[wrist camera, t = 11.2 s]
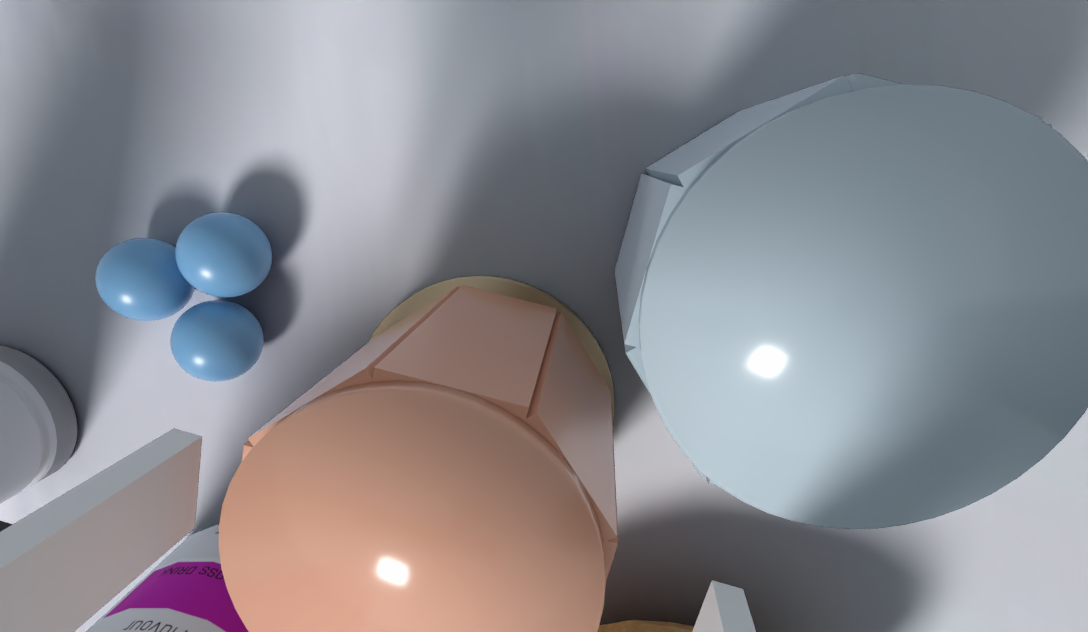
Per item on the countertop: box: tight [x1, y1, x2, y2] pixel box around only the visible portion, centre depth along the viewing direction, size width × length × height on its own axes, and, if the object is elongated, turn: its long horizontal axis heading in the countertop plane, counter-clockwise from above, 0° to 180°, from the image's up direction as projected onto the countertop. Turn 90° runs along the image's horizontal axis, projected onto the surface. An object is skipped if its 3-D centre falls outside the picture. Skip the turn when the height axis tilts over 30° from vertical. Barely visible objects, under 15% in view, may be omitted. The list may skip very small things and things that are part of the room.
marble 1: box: [95, 238, 195, 321], centre depth 21 cm, size 3×3×3 cm
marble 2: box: [175, 212, 272, 297], centre depth 21 cm, size 3×3×3 cm
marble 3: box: [171, 300, 264, 381], centre depth 21 cm, size 3×3×3 cm
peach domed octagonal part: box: [219, 285, 618, 632], centre depth 18 cm, size 9×9×9 cm
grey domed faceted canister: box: [615, 73, 1088, 529], centre depth 16 cm, size 9×9×9 cm
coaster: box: [369, 276, 615, 424], centre depth 22 cm, size 10×10×1 cm
